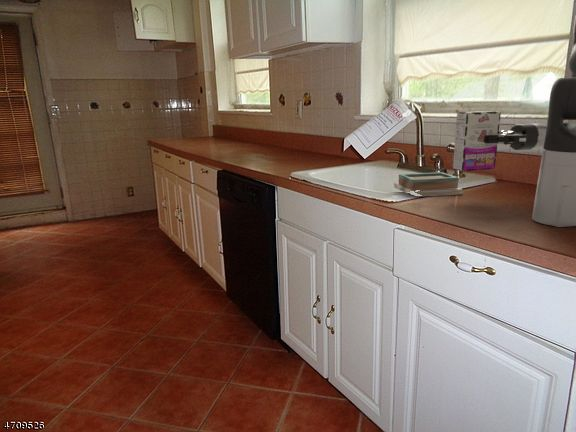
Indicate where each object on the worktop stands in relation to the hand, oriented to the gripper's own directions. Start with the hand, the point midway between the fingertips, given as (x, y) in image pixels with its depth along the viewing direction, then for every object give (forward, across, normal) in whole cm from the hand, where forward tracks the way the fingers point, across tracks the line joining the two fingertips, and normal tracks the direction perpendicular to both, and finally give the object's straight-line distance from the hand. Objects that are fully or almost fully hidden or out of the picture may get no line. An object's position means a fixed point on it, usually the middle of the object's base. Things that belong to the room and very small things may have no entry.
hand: (478, 138), depth 122 cm
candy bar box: (+1, 0, +9) cm, 9 cm away
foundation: (+8, -12, +17) cm, 23 cm away
